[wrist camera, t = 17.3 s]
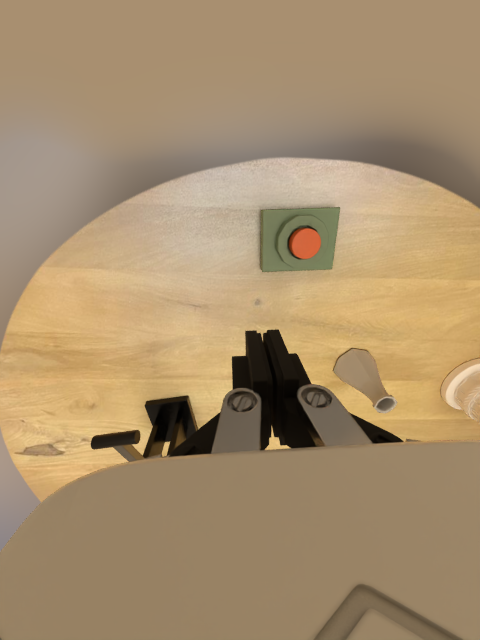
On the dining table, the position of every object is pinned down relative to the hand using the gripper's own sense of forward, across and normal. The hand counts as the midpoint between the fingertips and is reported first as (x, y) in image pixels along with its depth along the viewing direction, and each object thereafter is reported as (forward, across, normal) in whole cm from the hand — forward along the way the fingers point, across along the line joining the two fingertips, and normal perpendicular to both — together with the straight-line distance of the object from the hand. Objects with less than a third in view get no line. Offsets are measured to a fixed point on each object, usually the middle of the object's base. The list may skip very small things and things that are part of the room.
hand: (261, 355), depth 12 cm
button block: (+25, -8, -3) cm, 26 cm away
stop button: (+21, -8, -3) cm, 23 cm away
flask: (+25, -20, +20) cm, 38 cm away
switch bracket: (+25, +14, +30) cm, 42 cm away
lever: (+13, +15, +23) cm, 30 cm away
